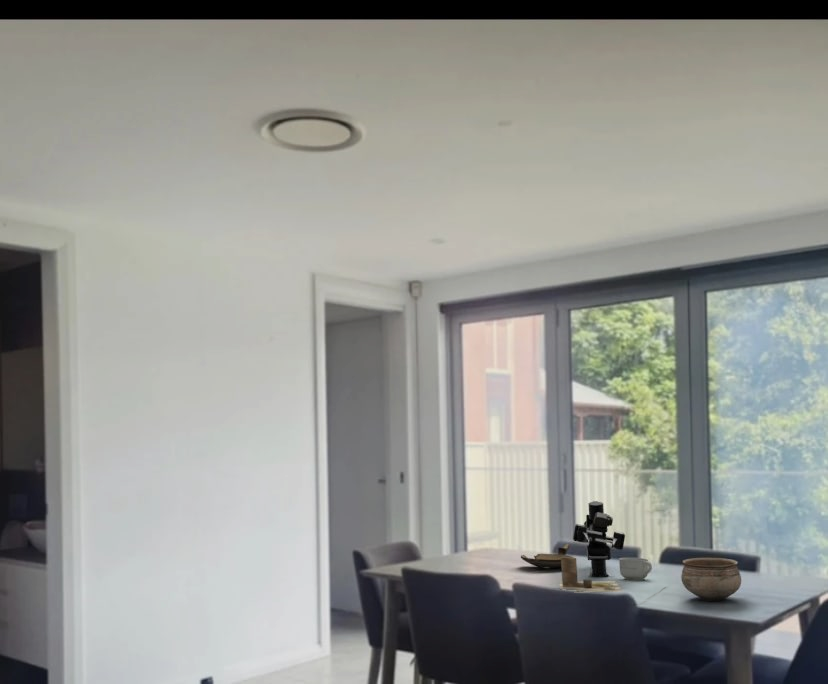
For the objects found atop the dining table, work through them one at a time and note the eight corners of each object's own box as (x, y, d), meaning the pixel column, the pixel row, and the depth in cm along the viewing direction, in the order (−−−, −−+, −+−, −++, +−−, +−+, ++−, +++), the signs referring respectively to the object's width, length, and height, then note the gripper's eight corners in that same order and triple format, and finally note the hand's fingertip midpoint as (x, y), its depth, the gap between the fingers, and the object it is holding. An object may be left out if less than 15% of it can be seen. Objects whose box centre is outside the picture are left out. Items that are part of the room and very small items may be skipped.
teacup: (614, 579, 312) (613, 557, 313) (638, 576, 316) (636, 555, 317) (636, 584, 299) (635, 562, 300) (660, 581, 303) (659, 559, 304)
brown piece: (612, 587, 288) (610, 559, 289) (609, 589, 286) (607, 560, 287) (564, 584, 298) (563, 556, 299) (561, 586, 295) (559, 558, 296)
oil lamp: (509, 567, 347) (508, 549, 348) (562, 560, 363) (561, 542, 363) (542, 574, 328) (541, 555, 329) (597, 566, 344) (596, 547, 344)
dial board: (558, 584, 304) (558, 581, 304) (615, 583, 302) (615, 580, 302) (561, 595, 284) (561, 591, 284) (622, 594, 282) (622, 590, 282)
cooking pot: (711, 590, 283) (709, 554, 285) (760, 598, 268) (757, 560, 269) (664, 600, 270) (662, 563, 271) (713, 609, 254) (710, 569, 255)
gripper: (576, 506, 314) (578, 518, 299) (625, 515, 311) (629, 527, 296) (572, 533, 315) (573, 546, 300) (620, 543, 312) (624, 556, 297)
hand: (600, 543), depth 298 cm, fingers open, 9 cm apart
